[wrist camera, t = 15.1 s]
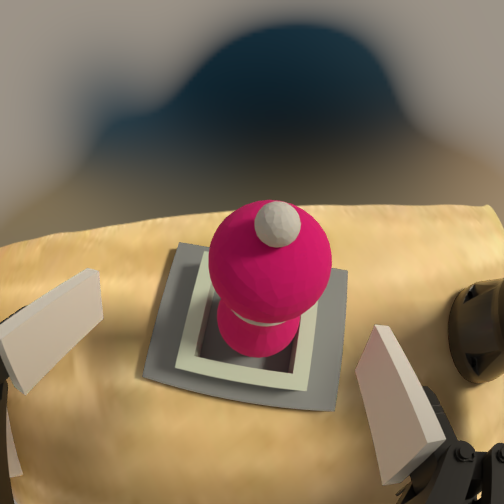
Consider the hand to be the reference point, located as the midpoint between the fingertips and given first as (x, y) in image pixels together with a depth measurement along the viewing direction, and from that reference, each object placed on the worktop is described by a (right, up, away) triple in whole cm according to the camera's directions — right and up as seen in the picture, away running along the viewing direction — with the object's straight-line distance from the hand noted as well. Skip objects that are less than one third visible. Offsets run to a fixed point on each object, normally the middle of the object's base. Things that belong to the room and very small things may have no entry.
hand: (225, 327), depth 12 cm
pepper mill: (+2, -4, +16) cm, 17 cm away
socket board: (+1, -5, +17) cm, 18 cm away
